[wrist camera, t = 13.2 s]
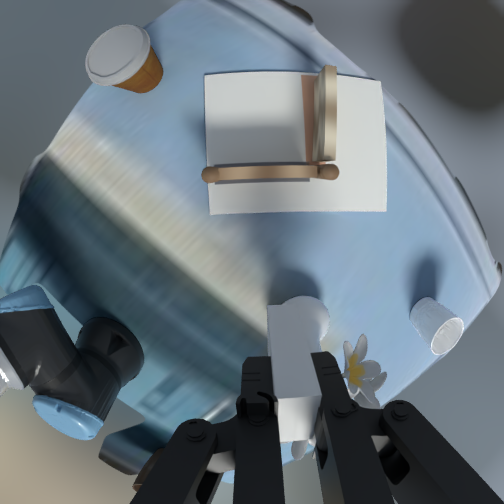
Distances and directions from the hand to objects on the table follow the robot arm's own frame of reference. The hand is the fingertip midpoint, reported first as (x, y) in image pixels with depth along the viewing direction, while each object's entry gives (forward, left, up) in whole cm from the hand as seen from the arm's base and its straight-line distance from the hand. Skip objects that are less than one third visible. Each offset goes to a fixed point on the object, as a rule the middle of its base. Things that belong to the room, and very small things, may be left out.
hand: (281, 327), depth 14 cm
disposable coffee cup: (-18, +26, -29) cm, 43 cm away
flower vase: (+6, -16, -29) cm, 33 cm away
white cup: (+32, -18, -29) cm, 47 cm away
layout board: (+6, +13, -28) cm, 32 cm away
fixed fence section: (+1, +8, -28) cm, 29 cm away
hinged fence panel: (+9, +16, -28) cm, 33 cm away
